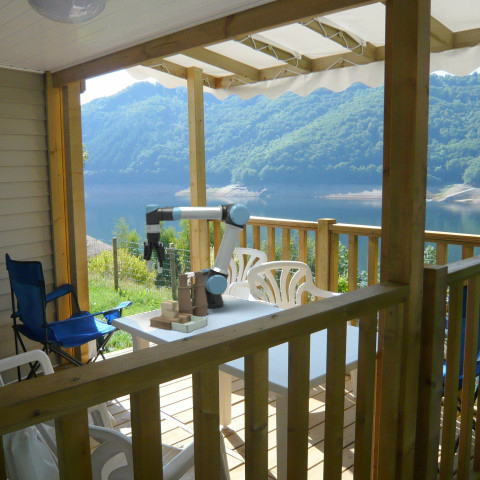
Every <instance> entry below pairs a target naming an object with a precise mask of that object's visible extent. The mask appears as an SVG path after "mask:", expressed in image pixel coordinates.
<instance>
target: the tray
mask: <svg viewBox="0 0 480 480" xmlns="http://www.w3.org/2000/svg"><path fill="white" fill-rule="evenodd" d="M207 326H208V318H207V317H204V316H201V317H197V316H191V321H190V322H187V323H185V324H179V323H174V322H171V327H172V330H171V331H177V332H181V333H186V334H188V333H191V332H193V331H197V330H199V329H201V328H204V327H207Z"/></svg>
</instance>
